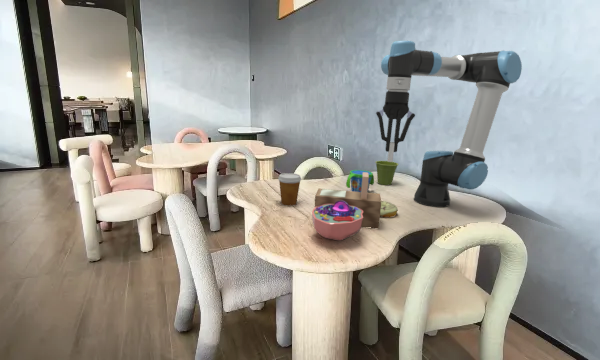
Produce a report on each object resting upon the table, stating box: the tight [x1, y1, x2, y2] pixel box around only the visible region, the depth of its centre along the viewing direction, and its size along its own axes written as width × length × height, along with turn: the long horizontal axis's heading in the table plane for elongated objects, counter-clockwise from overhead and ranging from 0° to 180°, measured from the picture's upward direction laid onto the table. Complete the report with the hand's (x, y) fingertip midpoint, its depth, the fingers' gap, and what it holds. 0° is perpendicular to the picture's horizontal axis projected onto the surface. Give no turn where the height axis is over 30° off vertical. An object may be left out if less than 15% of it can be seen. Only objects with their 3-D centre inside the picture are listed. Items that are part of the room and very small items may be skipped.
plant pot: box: [374, 160, 399, 186], centre depth 183 cm, size 12×12×11 cm
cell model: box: [311, 201, 363, 241], centre depth 114 cm, size 17×20×11 cm
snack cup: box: [345, 169, 375, 193], centre depth 164 cm, size 16×10×10 cm
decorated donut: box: [380, 200, 399, 218], centre depth 139 cm, size 11×12×4 cm
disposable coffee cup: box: [277, 172, 302, 207], centre depth 145 cm, size 10×10×12 cm
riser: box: [314, 188, 382, 229], centre depth 128 cm, size 23×10×10 cm, turn 80°
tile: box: [361, 172, 369, 199], centre depth 125 cm, size 2×7×8 cm, turn 170°
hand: (389, 161), depth 121 cm, fingers closed
